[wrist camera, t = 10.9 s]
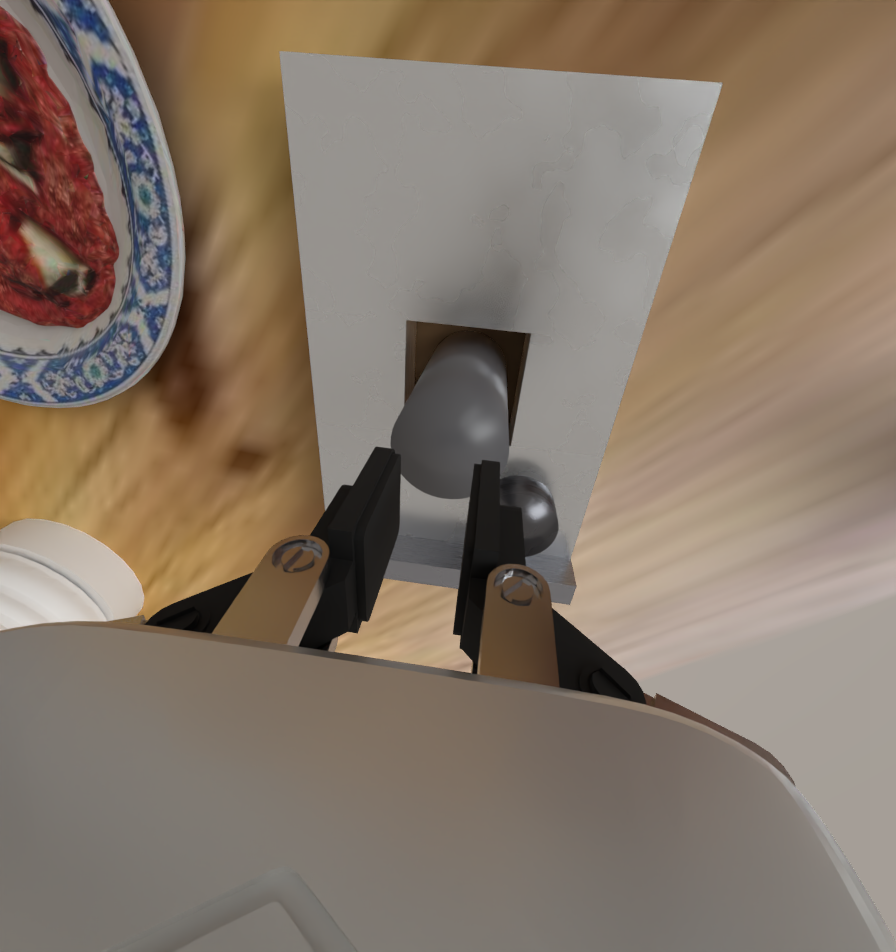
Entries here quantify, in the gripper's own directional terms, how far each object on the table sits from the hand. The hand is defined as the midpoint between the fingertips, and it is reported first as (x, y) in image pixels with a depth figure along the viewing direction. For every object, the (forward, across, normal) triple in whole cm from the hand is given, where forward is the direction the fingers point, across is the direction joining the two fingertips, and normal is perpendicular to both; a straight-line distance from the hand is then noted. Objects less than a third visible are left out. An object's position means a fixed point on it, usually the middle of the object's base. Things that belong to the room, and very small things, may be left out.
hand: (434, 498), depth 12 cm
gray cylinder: (+13, 0, 0) cm, 13 cm away
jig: (+13, 0, 0) cm, 13 cm away
